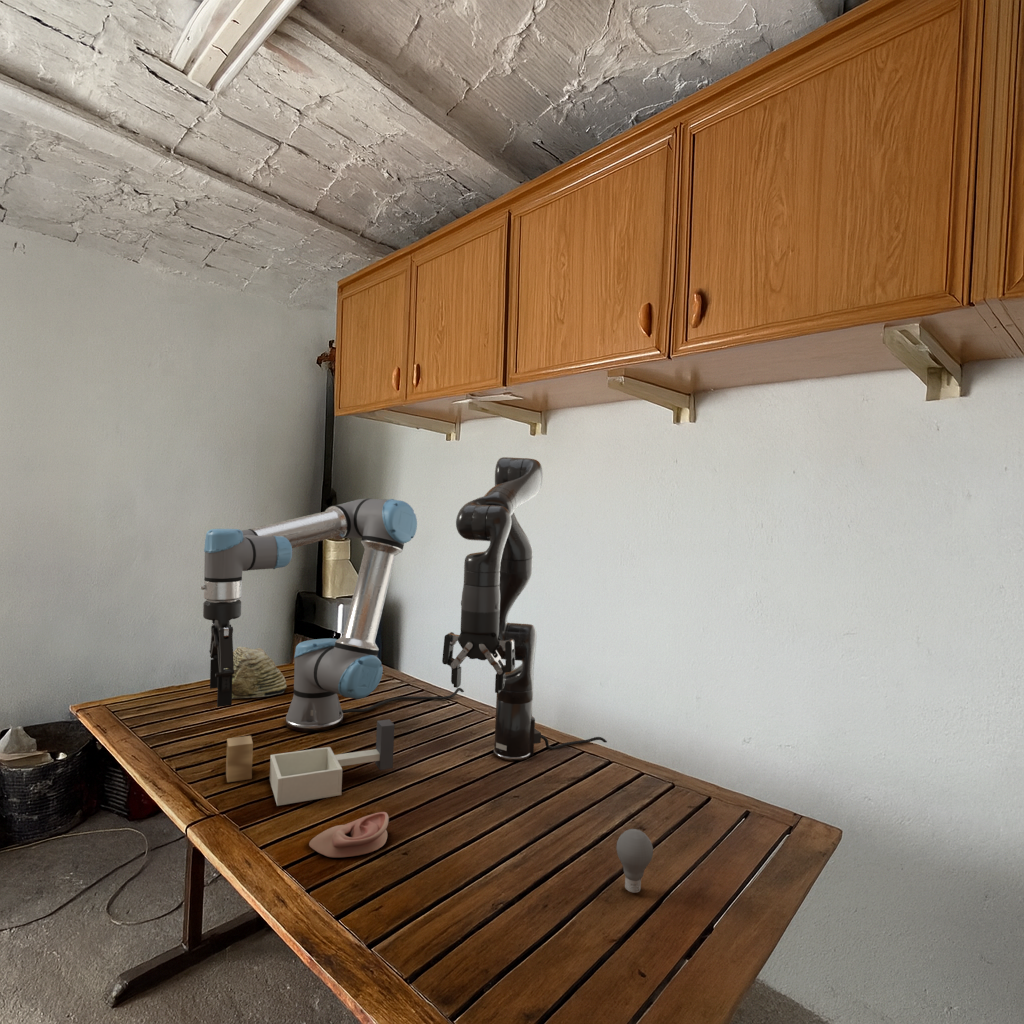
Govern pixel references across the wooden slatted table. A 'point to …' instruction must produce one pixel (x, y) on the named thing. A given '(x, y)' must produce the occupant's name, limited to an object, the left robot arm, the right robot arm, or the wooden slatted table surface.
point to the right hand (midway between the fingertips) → (477, 689)
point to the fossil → (255, 674)
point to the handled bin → (324, 768)
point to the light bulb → (634, 857)
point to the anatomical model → (353, 837)
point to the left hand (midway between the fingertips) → (220, 696)
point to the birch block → (239, 758)
